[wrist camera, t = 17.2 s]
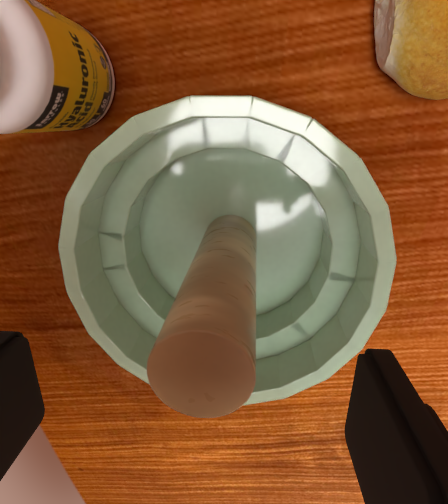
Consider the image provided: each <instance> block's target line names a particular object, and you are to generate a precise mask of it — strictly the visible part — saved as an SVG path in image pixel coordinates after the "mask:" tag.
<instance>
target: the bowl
mask: <svg viewBox="0 0 448 504" xmlns="http://www.w3.org/2000/svg"><path fill="white" fill-rule="evenodd" d="M388 207H389V206H388V205H387V203H386V201H385V199H384V197H383V196H382V194H381V192H380V190H379V189H378V187H377V185H376V183H375V182H374V180H373V178H372V176H371V175H370V173H369V171H368V169H367V167H366V166H365V164H364V162H363V160H362V159H361V158H360V157H359V156H358V155H357V154H356V153H355V152H354V151H353V150H351V149H350V148H349V147H348V146H347V145H345V144H344V143H343V142H342V141H341V140H339V139H338V138H337V137H336V136H335V135H333V134H332V133H331V132H330V131H329V130H328V129H326V128H325V127H324V126H323V125H322V124H320V123H319V122H318V121H317V120H316V119H313V118H312V117H311V116H308V115H305V114H302V113H300V112H297V111H294V110H291V109H289V108H286V107H283V106H280V105H278V104H275V103H272V102H269V101H267V100H264V99H261V98H258V97H255V96H254V97H253V96H238V95H191V96H187V97H184V98H181V99H178V100H176V101H173V102H170V103H167V104H165V105H162V106H159V107H156V108H154V109H151V110H148V111H145V112H143V113H140V114H137V115H134V116H133V117H131V118H130V119H129V120H127V121H126V122H125V123H124V124H123V125H122V126H120V127H119V128H118V129H117V130H116V131H115V132H113V133H112V134H111V135H110V136H109V137H108V138H106V139H105V140H104V141H103V142H102V143H101V144H99V145H98V146H97V147H96V148H95V149H94V150H92V151H91V153H90V154H89V155H88V157H87V159H86V161H85V163H84V164H83V166H82V168H81V170H80V172H79V174H78V175H77V177H76V179H75V181H74V183H73V185H72V186H71V188H70V190H69V192H68V194H67V196H66V199H65V203H64V210H63V217H62V224H61V230H60V237H59V244H58V246H59V247H58V249H59V255H60V260H61V265H62V271H63V276H64V282H65V287H66V292H67V294H68V296H69V298H70V300H71V302H72V304H73V306H74V308H75V309H76V311H77V313H78V315H79V317H80V319H81V321H82V323H83V325H84V327H85V328H86V330H87V332H88V334H89V335H90V336H91V337H92V338H93V339H94V340H95V341H96V342H97V343H98V344H99V345H100V346H101V347H102V349H103V350H104V351H105V352H106V353H107V354H108V355H109V356H110V357H111V358H112V359H113V360H114V361H115V362H116V363H117V364H118V365H119V366H121V367H122V368H124V369H126V370H127V371H129V372H130V373H132V374H134V375H135V376H137V377H138V378H140V379H142V380H143V381H145V382H146V383H148V384H150V383H149V380H148V376H147V360H148V357H149V354H150V352H151V350H152V348H153V346H154V343H155V341H156V339H157V337H158V335H159V333H160V330H161V328H162V326H163V324H164V322H165V319H166V317H167V315H168V313H169V311H170V309H171V306H172V304H173V302H174V300H175V298H176V295H177V293H178V291H179V289H180V287H181V284H182V282H183V280H184V278H185V276H186V274H187V271H188V269H189V267H190V265H191V263H192V260H193V258H194V256H195V254H196V252H197V250H198V247H199V245H200V243H201V241H202V239H203V236H204V234H205V232H206V230H207V228H208V226H209V225H210V223H211V222H212V221H214V220H215V219H216V218H218V217H220V216H224V215H236V216H240V217H242V218H244V219H245V220H247V221H248V222H249V223H250V224H251V225H252V227H253V228H254V230H255V233H256V238H257V253H256V381H255V387H254V390H253V392H252V394H251V396H250V397H249V399H248V400H247V402H246V403H245V404H244V405H249V404H255V403H261V402H267V401H273V400H279V399H285V398H287V397H290V396H292V395H294V394H296V393H298V392H301V391H303V390H305V389H307V388H309V387H312V386H314V385H316V384H318V383H320V382H323V381H325V380H326V379H328V378H330V377H331V376H332V375H333V374H334V373H335V372H337V371H338V370H339V369H340V368H341V367H342V366H344V365H345V364H346V363H347V362H348V361H349V360H351V359H352V358H353V357H354V356H355V355H356V354H358V353H359V352H360V351H361V349H363V347H364V345H365V344H366V342H367V341H368V339H369V337H370V336H371V334H372V332H373V331H374V329H375V327H376V326H377V324H378V323H379V321H380V319H381V318H382V316H383V314H384V313H385V311H386V308H387V304H388V300H389V295H390V290H391V285H392V281H393V276H394V271H395V266H396V259H397V258H396V251H395V244H394V238H393V231H392V225H391V218H390V212H389V208H388Z"/></svg>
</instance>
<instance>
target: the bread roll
mask: <svg viewBox="0 0 448 504" xmlns="http://www.w3.org/2000/svg"><path fill="white" fill-rule="evenodd" d="M374 27H375V31H374V36H375V44H376V47H375V50H376V58H377V62H378V65H379V67H380V69H381V70H382V71H383V72H385V73H386V74H387V75H389V76H390V77H391V78H393V79H394V81H395V82H396V83H397V84H398V85H399V86H400V87H401V88H402V89H404V90H405V91H407V92H408V93H410V94H411V95H414V96H417V97H422V98H427V99H434V100H440V99H447V98H448V0H375V8H374Z"/></svg>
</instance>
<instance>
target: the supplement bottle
mask: <svg viewBox="0 0 448 504" xmlns="http://www.w3.org/2000/svg"><path fill="white" fill-rule="evenodd" d="M114 89H115V79H114V72H113V67H112V64H111V61H110V59H109V56H108V54H107V53H106V51H105V49H104V48H103V46H102V45H101V43H100V42H99V41H98V40H97V39H96V38H95V37H94V36H93V35H92V34H91V33H90V32H89V31H87V30H86V29H85V28H83V27H82V26H80V25H79V24H77V23H75V22H73V21H72V20H70V19H68V18H66V17H64V16H63V15H61V14H59V13H57V12H55V11H54V10H52V9H50V8H48V7H46V6H44V5H43V4H41V3H39V2H37V1H35V0H0V134H13V133H33V132H51V131H71V130H79V129H84V128H87V127H90V126H92V125H94V124H95V123H97V122H98V121H99V120H101V119H102V118H103V117H104V115H105V114H106V113H107V111H108V109H109V107H110V105H111V103H112V100H113V96H114Z"/></svg>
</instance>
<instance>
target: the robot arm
mask: <svg viewBox="0 0 448 504" xmlns="http://www.w3.org/2000/svg"><path fill="white" fill-rule="evenodd" d="M44 412H45V408H44V404H43V399H42V395H41V391H40V387H39V383H38V379H37V375H36V370H35V366H34V362H33V358H32V354H31V350H30V346H29V342H28V339H27V338H25V337H24V336H23V334H22V333H20V332H13V331H0V481H1V479H2V478H3V476H4V475H5V473H6V472H7V470H8V469H9V468H10V466H11V465H12V463H13V462H14V461H15V459H16V458H17V456H18V455H19V453H20V452H21V450H22V449H23V447H24V446H25V445H26V443H27V441H28V440H29V439H30V437H31V436H32V434H33V433H34V432H35V430H36V429H37V427H38V426H39V424H40V423H41V421H42V419H43V417H44ZM345 438H346V443H347V446H348V449H349V453H350V456H351V459H352V462H353V466H354V469H355V472H356V476H357V479H358V482H359V485H360V489H361V492H362V495H363V499H364V502H365V504H448V431H447V430H446V428H445V426H444V425H443V423H442V422H441V420H440V419H439V417H438V416H437V414H436V412H435V411H434V410H433V409H432V407H431V406H429V405H428V404H424V403H423V401H422V400H421V398H420V397H419V395H418V393H417V392H416V390H415V388H414V387H413V385H412V384H411V382H410V380H409V379H408V377H407V376H406V374H405V372H404V371H403V369H402V368H401V366H400V364H399V363H398V361H397V359H396V358H395V356H394V355H393V353H392V352H391V351H390V350H386V349H366V351H365V353H364V354H359V356H358V359H357V364H356V370H355V375H354V381H353V386H352V392H351V397H350V402H349V408H348V413H347V419H346V424H345Z"/></svg>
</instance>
